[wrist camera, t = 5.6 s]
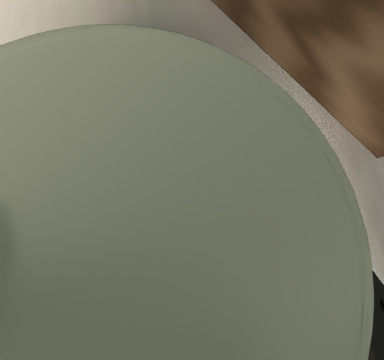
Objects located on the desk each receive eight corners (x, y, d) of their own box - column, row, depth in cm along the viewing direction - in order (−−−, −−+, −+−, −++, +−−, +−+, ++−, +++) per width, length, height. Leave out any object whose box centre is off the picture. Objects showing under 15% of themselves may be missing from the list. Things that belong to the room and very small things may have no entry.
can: (74, 174, 16) (-229, 11, 4) (215, 155, 17) (323, -17, 5) (85, 330, 14) (-372, 891, 2) (240, 299, 15) (496, 568, 3)
